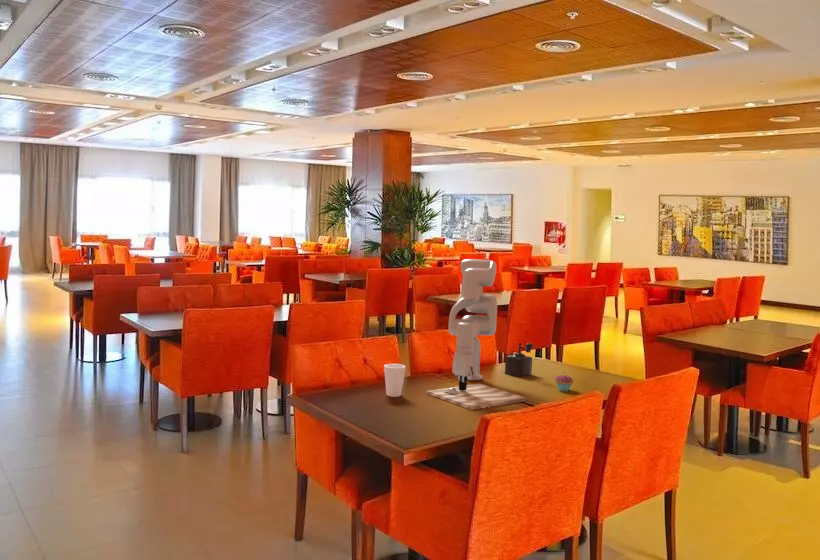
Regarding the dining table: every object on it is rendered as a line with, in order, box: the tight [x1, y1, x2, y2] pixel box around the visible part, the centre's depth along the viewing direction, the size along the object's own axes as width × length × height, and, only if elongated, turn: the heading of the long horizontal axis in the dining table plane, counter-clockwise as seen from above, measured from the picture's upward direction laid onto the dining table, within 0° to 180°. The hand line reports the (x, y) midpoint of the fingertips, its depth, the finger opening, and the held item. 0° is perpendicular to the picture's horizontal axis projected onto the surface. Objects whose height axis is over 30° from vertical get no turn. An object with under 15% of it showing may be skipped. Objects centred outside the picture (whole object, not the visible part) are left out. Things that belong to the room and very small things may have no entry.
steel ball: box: [448, 387, 457, 395], centre depth 313 cm, size 4×4×4 cm
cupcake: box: [554, 366, 574, 392], centre depth 335 cm, size 9×8×12 cm
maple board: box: [426, 382, 527, 411], centre depth 314 cm, size 30×32×2 cm
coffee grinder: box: [504, 342, 534, 378], centre depth 365 cm, size 16×11×18 cm
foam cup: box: [383, 363, 407, 398], centre depth 312 cm, size 10×9×13 cm
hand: (462, 390), depth 318 cm, fingers closed
